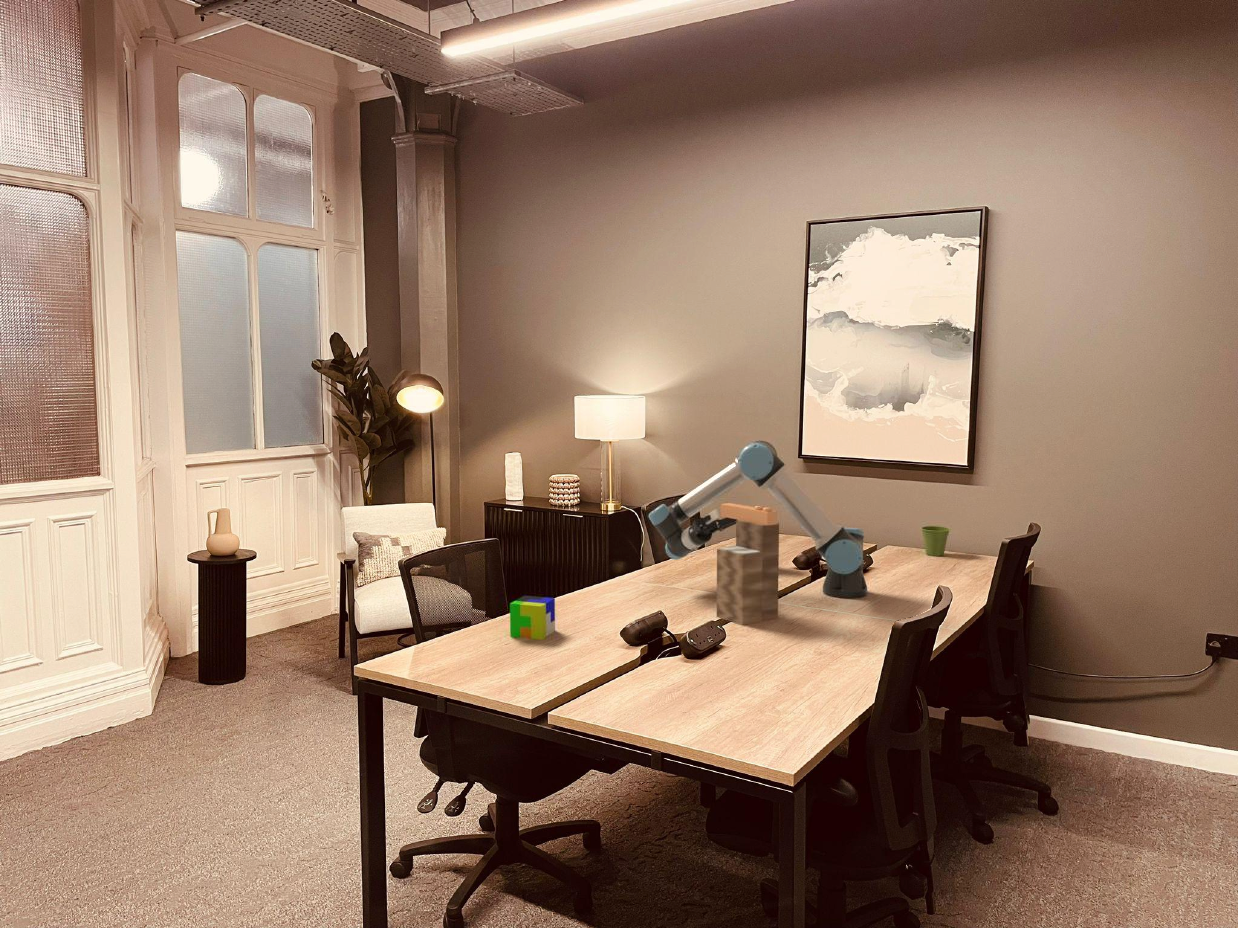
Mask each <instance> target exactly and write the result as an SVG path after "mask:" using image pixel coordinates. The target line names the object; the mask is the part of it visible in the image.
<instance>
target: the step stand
mask: <svg viewBox="0 0 1238 928" xmlns="http://www.w3.org/2000/svg"><path fill="white" fill-rule="evenodd" d="M735 526H736V528H735V529H736V531H735V538H736V539H735V545H731V546H725V547H719V548H716V617H717V618H719V619H723V620H724V621H729V622H732V623H735V624H738V625H741V626H745V625H750V624H754V623H759V622H763V621H769V620H773V619H778V618H779V568H780V567H779V566H780V565H779V561H780V559H779V558H780V554H779V550H780V523H779V522H777V524H775V525H762V524H757V523H752V522H747V521H742V520H736V524H735Z"/></svg>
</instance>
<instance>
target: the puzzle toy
mask: <svg viewBox="0 0 1238 928" xmlns="http://www.w3.org/2000/svg"><path fill="white" fill-rule="evenodd" d="M555 601H556V599H555V597H548V596H547V597H545V596H534V595H522V596H520V597H519V598H518V599H516V600H514V601H512V602H510V603H509V627H510V634H509V636H510V638H521V639H529V640H530V639H531V640H538V641H539V640H540V641H542V640H544V639H545V638H546V637H548V636H549V635H551V634H552V633H554V632H555V631H556V602H555Z"/></svg>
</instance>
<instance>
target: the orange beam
mask: <svg viewBox="0 0 1238 928" xmlns="http://www.w3.org/2000/svg"><path fill="white" fill-rule="evenodd" d="M720 517H722V518H726V517H727V518H732V519H737V520H742V521H747V522H752V523H757V524H762V525H775V524H777V523H778V522H777V521H778V511H776V510H772V507H767V506H765V507H763V505H756V506H755V505H754V507H753V506H750V505H749V506H746V505H743V504H739V503H738V504H737V503H732V502H728V503H727V502H726V503H721V504H720Z"/></svg>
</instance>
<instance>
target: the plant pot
mask: <svg viewBox="0 0 1238 928" xmlns="http://www.w3.org/2000/svg"><path fill="white" fill-rule="evenodd" d="M920 530H921V531H922V532H921V533H922V535H923V537H922V538H923V542H924V543H923V544H924V551H925V555H927V556H931V557H940V556H944V555H945V551H946V545H947V541H948V536H949V533H950V531H951V528H950V527H947V526H940V525H924V526H921V527H920Z"/></svg>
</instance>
